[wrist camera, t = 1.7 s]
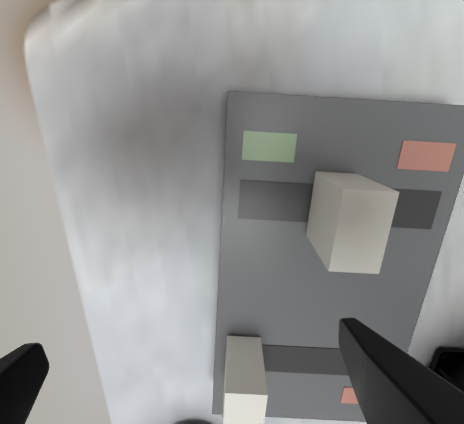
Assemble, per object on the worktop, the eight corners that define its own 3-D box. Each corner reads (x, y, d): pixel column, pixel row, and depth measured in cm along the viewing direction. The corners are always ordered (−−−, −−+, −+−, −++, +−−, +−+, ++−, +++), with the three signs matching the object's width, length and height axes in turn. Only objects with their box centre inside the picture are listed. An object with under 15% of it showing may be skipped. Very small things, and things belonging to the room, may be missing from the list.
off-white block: (260, 337, 20) (267, 395, 16) (256, 380, 21) (261, 444, 17) (227, 335, 20) (225, 393, 16) (224, 378, 21) (221, 442, 17)
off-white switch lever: (356, 173, 16) (399, 192, 12) (344, 237, 17) (378, 274, 13) (315, 171, 16) (343, 188, 12) (305, 235, 17) (328, 271, 13)
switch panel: (445, 108, 18) (486, 106, 15) (368, 389, 25) (385, 423, 23) (228, 95, 18) (227, 90, 15) (214, 381, 25) (212, 415, 22)
